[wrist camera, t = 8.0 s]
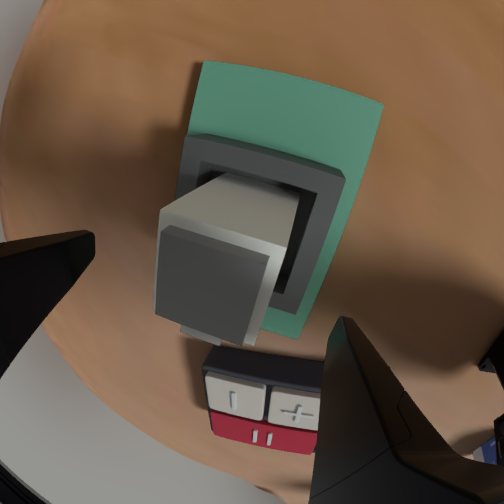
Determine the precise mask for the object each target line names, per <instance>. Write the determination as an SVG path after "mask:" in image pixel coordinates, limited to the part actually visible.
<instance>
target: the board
mask: <svg viewBox="0 0 504 504" xmlns="http://www.w3.org/2000/svg"><path fill="white" fill-rule="evenodd" d="M383 106H384V104H381V103H379V102H376V101H374V100H371V99H368V98H366V97H363V96H360V95H357V94H354V93H352V92H349V91H346V90H342V89H339V88H336V87H333V86H330V85H326V84H323V83H320V82H316V81H312V80H309V79H305V78H301V77H297V76H293V75H289V74H284V73H280V72H275V71H270V70H265V69H260V68H255V67H249V66H243V65H236V64H230V63H222V62H214V61H204V62H203V66H202V70H201V74H200V78H199V82H198V86H197V91H196V95H195V99H194V104H193V108H192V113H191V118H190V123H189V127H188V132H187V136H185V140H184V145H183V150H182V156H181V162H180V168H179V174H178V180H177V186H176V193H175V200H177V199H179V198H181V197H182V196H184V195H186V194H188V193H189V192H191V191H193V190H195V189H197V188H198V187H200V186H202V185H204V184H206V183H208V182H209V181H211V180H213V179H215V178H217V177H219V176H221V175H222V174H224V173H226V172H227V173H230V174H234V175H238V176H242V177H245V178H249V179H253V180H256V181H260V182H263V183H267V184H270V185H274V186H277V187H281V188H284V189H287V190H291V191H294V192H297V193H301V194H300V198H299V202H298V206H297V210H296V214H295V218H294V222H293V226H292V230H291V234H290V238H289V242H288V246H287V250H286V253H285V256H284V259H283V262H282V265H281V268H280V271H279V274H278V277H277V280H276V283H275V286H274V289H273V292H272V295H271V298H270V301H269V304H268V307H267V310H266V313H265V316H264V319H263V322H262V324H261V327H260V329H263V330H266V331H270V332H273V333H276V334H279V335H283V336H286V337H289V338H293V339H296V340H297V339H298V337H299V335H300V333H301V330H302V328H303V326H304V324H305V322H306V320H307V317H308V315H309V313H310V311H311V308H312V306H313V304H314V302H315V299H316V297H317V295H318V292H319V290H320V288H321V285H322V283H323V281H324V278H325V276H326V273H327V271H328V268H329V266H330V264H331V261H332V259H333V256H334V254H335V251H336V248H337V246H338V243H339V241H340V238H341V235H342V233H343V230H344V228H345V225H346V222H347V219H348V217H349V214H350V211H351V208H352V206H353V203H354V200H355V197H356V194H357V191H358V188H359V185H360V182H361V179H362V176H363V173H364V170H365V167H366V164H367V161H368V158H369V155H370V151H371V148H372V145H373V142H374V138H375V135H376V131H377V128H378V124H379V121H380V117H381V114H382V110H383ZM175 200H174V201H175Z"/></svg>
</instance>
